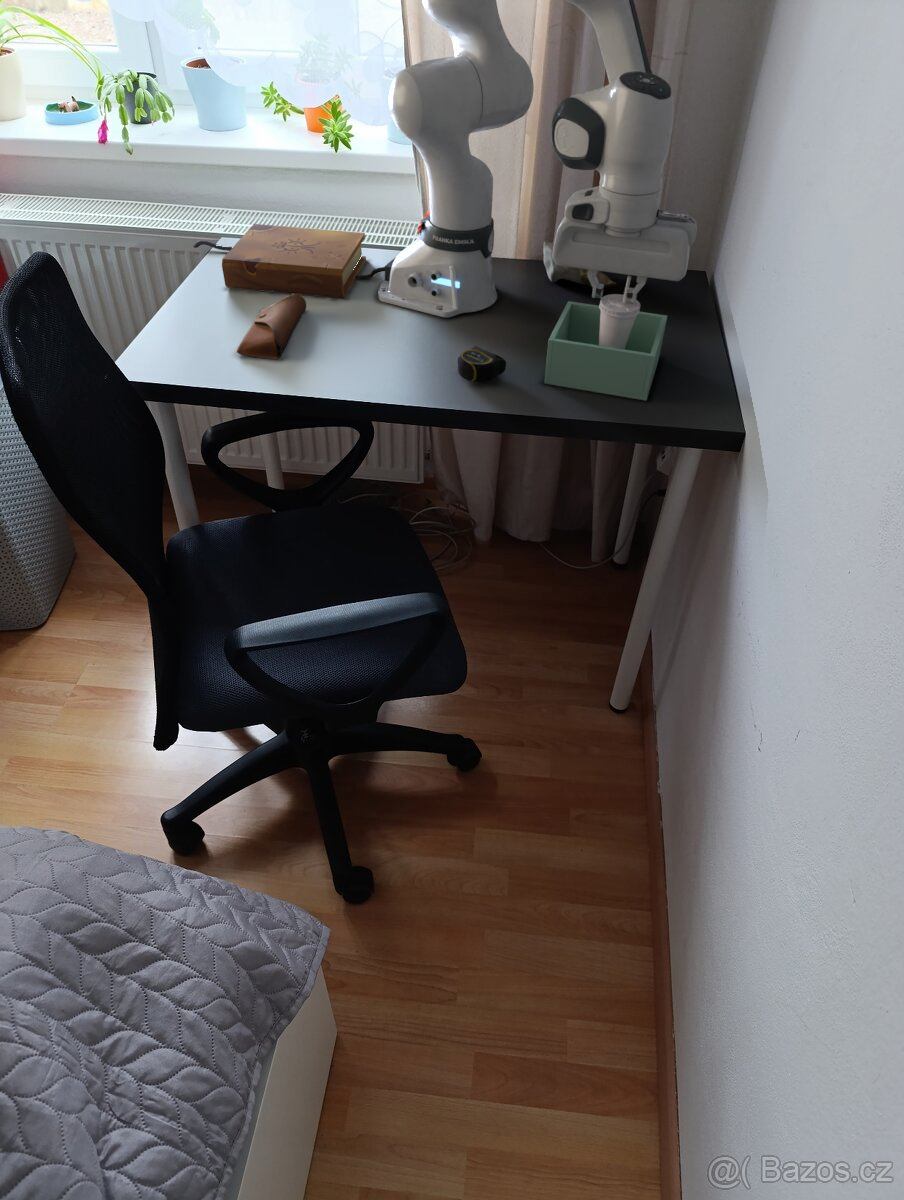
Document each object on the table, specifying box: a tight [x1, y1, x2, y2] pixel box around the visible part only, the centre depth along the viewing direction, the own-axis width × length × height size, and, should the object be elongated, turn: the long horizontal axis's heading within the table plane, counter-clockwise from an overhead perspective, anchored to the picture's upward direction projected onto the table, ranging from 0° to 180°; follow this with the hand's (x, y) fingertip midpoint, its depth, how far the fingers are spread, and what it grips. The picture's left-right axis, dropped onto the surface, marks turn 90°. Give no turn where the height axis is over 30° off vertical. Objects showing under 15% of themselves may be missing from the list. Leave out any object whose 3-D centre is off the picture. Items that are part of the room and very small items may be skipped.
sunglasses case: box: [236, 293, 307, 360], centre depth 145 cm, size 18×7×7 cm, turn 175°
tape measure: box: [457, 345, 507, 384], centre depth 135 cm, size 7×7×4 cm
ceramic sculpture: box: [542, 241, 618, 289], centre depth 160 cm, size 11×9×15 cm
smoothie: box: [598, 275, 641, 349], centre depth 132 cm, size 6×6×14 cm
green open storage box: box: [544, 300, 668, 401], centre depth 136 cm, size 17×15×8 cm
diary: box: [221, 223, 367, 299], centre depth 162 cm, size 23×19×6 cm
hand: (613, 299), depth 130 cm, fingers closed on smoothie, 4 cm apart
